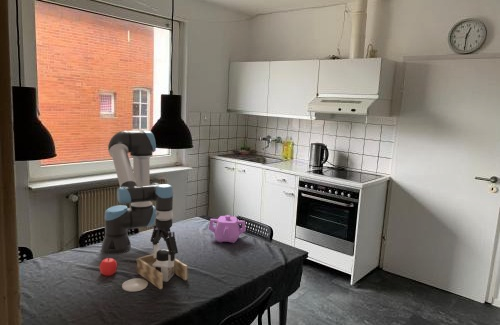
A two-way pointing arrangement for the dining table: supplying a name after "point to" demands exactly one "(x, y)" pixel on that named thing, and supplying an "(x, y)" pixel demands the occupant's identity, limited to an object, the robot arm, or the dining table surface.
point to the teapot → (227, 228)
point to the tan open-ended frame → (154, 275)
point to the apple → (108, 266)
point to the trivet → (134, 285)
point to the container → (163, 264)
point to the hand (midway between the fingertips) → (163, 262)
